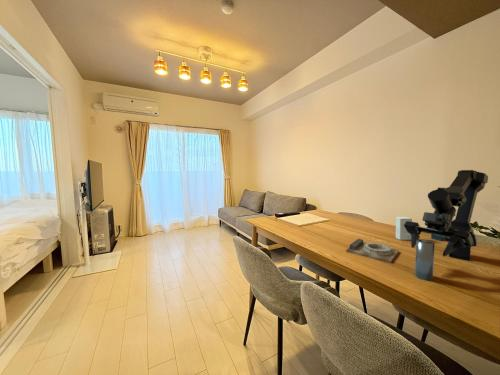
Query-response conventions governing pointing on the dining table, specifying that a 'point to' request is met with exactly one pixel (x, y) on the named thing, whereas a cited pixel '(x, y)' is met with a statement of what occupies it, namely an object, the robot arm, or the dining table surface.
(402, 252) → the dining table surface
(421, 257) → the dark grey cylinder
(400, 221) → the skincare box
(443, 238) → the watch
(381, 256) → the jig
